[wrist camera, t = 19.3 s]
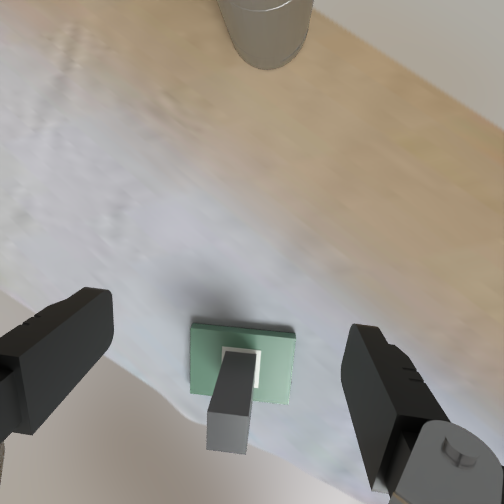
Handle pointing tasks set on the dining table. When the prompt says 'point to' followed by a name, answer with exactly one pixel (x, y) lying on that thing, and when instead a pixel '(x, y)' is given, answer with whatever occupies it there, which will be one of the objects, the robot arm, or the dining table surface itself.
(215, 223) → the dining table surface
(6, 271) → the dining table surface
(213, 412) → the block
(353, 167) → the dining table surface
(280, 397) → the board
